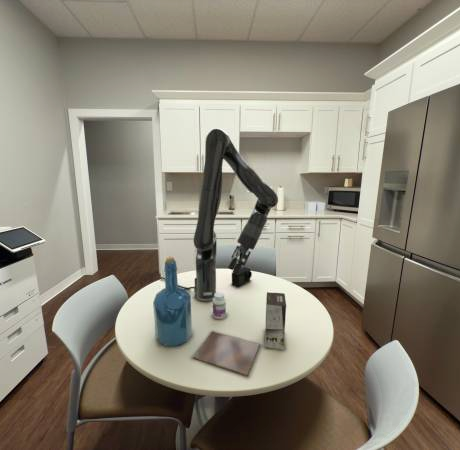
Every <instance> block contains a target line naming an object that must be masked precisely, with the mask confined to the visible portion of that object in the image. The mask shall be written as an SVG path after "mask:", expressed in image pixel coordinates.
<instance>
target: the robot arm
mask: <svg viewBox="0 0 460 450" xmlns="http://www.w3.org/2000/svg"><path fill="white" fill-rule="evenodd" d="M204 150H205V151H204V153H205V154H204V165H203V172H202V177H201V185H200V191H199V202H198V210H197V211H198V215H197V223H196V227H195V231H194V234H193V246H194V247H195V249H196V255H195V277H194V286H189V287H185V286H182V285H180V284H178V287H181V288H184V289H185V290H192V289H193V292H194V298H195V299H197V300H198V301H201V302H211V301H213V299H214V294H215V293H217V263H216V262H217V247H218V246H217V245H218V243H217V241H218V240H217V234H216V231H215V230H214V229H215V221H216V218H217V214H218V212H219V210H220V209H219V208H220V206H221V201H222V196H223V187H224V183H223V181H224V180H223V177H224V176H223V164H224V163H223V162H225V163H227V164H228V166H229V167H230V169H231V170H232V171H233V173H234V174H235V176H236V177H237V179H238V180H239V181H240V182H241V184H242V185H243V186H244V187H245V189H246V190H247V191H248V192H249V193H251V194H253V195H254V196H255V197H256V198H257V200H256V202H255V204H254V208H253V210H252V213H251V214H250V216H249V218H248V220H247V222H246V224H245V225H244V227H243V228H242V231H241V233H240V234H239V236H238V238H237V241H236V242H237V243H238V244H239V245H236V247H235V249H234V251H233V253H232V255H231V261H230V262H229V265H228V269H229V270H231V271H232V273H234V274H236V275H237V274H238V273H239V271H240V269H241V268H243V267H245V266H246V264H247V262H248V259H249V257H250V255H251V253H252V252H251V251H250V250H252V251H253V250H255V248H256V245H257V244H258V241H259V240H260V238H261V235H262V232H263V231H264V228H265V226H266V225H267V222H268V216H269V214H270V212H271V209H273V208H275V207H276V206H277V204H278V203H279V197H278V194H277V193H276V192H275V190H273V189H272V187H270V186H269V185H268V184H267V183H266V182H264V181H263V179H262V178H261V177H260V175H258V173H257V172H256V171H255V170H254V169H253V167H251V165H250V164H249V163H248V162H247V161H246V160H245V159H244V158H243V156H241V154H240V153H239V151H238V150H237V148H236V147H235V145H234V144H233V142H232V140H231V137H230V136H229V134H228V133H227V132H226V131H224V129H221V128H218V127H216V128H212V129H211V130H209V132H208V133H207V134H206V137H205V147H204ZM158 279H159V280H164V281H165V276H164V277H163V276H161V277H159V278H158Z"/></svg>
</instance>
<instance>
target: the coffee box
mask: <svg viewBox="0 0 460 450" xmlns="http://www.w3.org/2000/svg"><path fill="white" fill-rule="evenodd" d="M265 306H266V307H265V327H264V328H265V329H264V330H265V332H264V333H265V335H264V336H265V337H264V347H265V348H270V349H275V350H284V345H285V332H286V331H285V330H286V314H287V301H286V293H284V292H269V291H267V292H266V302H265Z"/></svg>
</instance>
